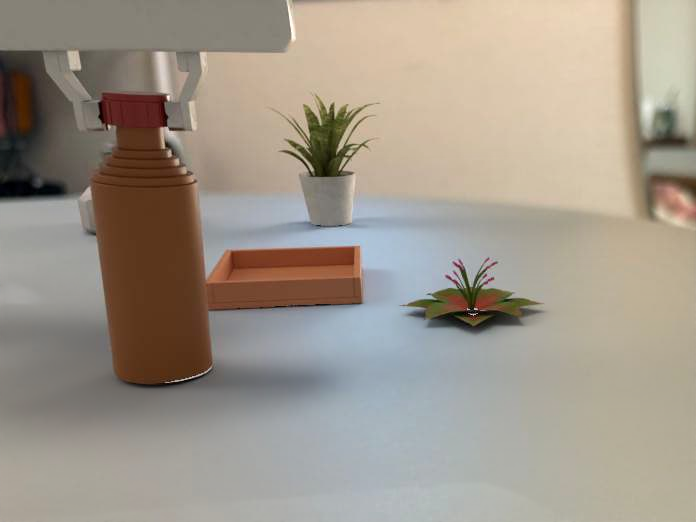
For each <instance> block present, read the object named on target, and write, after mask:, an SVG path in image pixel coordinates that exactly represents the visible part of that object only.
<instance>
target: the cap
mask: <svg viewBox="0 0 696 522" xmlns="http://www.w3.org/2000/svg"><path fill="white" fill-rule="evenodd" d="M99 94H100V95H99V96H100V99H99V100H100V101H101V104H102V111H103V115H102V117H103V120H104V124H106V125H110V126H113V127H115V126H122V127H146V128H153V127H163V128H168V125H167V119H168V118H169V117H168V115H167V114H166V113H165V106H164V102H166V101H171V100H172V99H171V93H167V92H158V91H157V92H156V91H142V90H100V91H99Z"/></svg>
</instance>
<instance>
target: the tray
mask: <svg viewBox="0 0 696 522" xmlns="http://www.w3.org/2000/svg"><path fill="white" fill-rule="evenodd" d="M206 288H207V300H208V311H212V310H213V311H214V310H217V311H218V310H235V309H236V310H238V309H237V308H240V309H258V308H260V307H263V308H276V307H275V306H286V307H290V306H289V305H293V306H292V307H298V306H297V305H309V306H316V305H315V304H331V305H348V304H349V305H350V304H351V305H352V303H354V304H363V262H362V247H361V245H341V246H340V245H339V246H337V245H336V246H335V245H334V246H310V247H309V246H308V247H307V246H306V247H303V246H302V247H277V248H275V247H273V248H247V249H246V248H245V249H244V248H243V249H226V250H225V251H224V252H223V254H222V255H221V257H220V259H219V260H218V261H217V263H216V264H215V266H214V268H213V269H212V270H211V272H210V274H209V275H208V277H206ZM287 305H288V306H287ZM295 305H296V306H295ZM260 309H261V308H260Z"/></svg>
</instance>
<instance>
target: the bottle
mask: <svg viewBox="0 0 696 522" xmlns="http://www.w3.org/2000/svg"><path fill="white" fill-rule="evenodd" d="M114 131H115V140H116V142H115V143H116V145H115V146H111V148H110V152H111V153H107V154H105V155H104V161H100V162H99V163H98V168H97V169H94V170H92V178H90V179H89V186H90V188H91V196H92V204H93V212H94V220H95V227H96V235H95V236H96V242H97V251H98V258H99V266H100V274H101V281H102V288H103V297H104V305H105V312H106V322H107V328H108V335H109V343H110V350H111V358H112V367H113V373H114V375H115V377H116V378H118V379H119V380H121V381H125V382H128V383H131V384H132V383H133V384H140V385H152V384H151V383H165V382H171V381H175V380H181V379H185V378H189V377H192V376H196V375H198V374H201V373H204V372H205V371H207V370H208V369H209V368H210V367H211V366H212V364H213V365H214V363H213V362H214V360H213V349H212V339H211V336H212V335H211V327H210V325H211V324H210V313H209V312H210V311H209V310H208V300H207V288H206V280H207V277H206V265H205V252H204V239H203V229H202V227H203V226H202V217H201V216H202V215H201V203H200V192H199V182H198V180H197V179H195V173H194V172H193V171H191V170H188V169H187V165H186V164H185V163H183V162H180V157H179V156H178V155H176V154H175V155H174V154H172V153H173V152H172V148H170V147H167V146H166V143H165V142H166V141H165V132H164V131H165V130H164V127H153V128H146V127H122V126H114Z"/></svg>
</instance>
